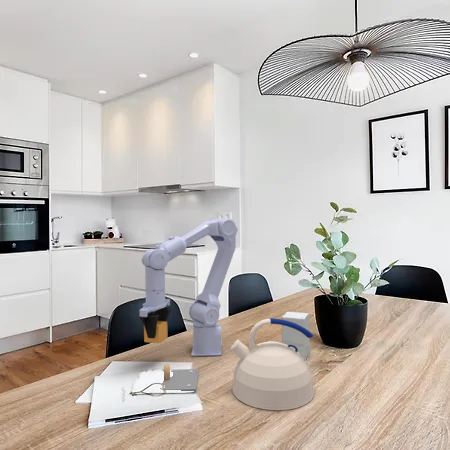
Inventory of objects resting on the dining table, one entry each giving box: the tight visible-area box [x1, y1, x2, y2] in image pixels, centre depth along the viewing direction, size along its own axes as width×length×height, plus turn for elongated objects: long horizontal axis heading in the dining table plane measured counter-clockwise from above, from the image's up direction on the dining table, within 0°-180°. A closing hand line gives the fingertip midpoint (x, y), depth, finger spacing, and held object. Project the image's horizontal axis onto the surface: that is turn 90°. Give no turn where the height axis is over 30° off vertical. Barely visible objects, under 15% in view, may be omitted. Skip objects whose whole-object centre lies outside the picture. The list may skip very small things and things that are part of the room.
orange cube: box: [143, 321, 168, 344], centre depth 108 cm, size 5×5×5 cm
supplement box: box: [280, 311, 311, 361], centre depth 114 cm, size 7×7×13 cm
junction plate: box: [140, 364, 200, 393], centre depth 95 cm, size 16×12×4 cm
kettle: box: [230, 317, 315, 411], centre depth 91 cm, size 20×21×18 cm
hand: (156, 334), depth 108 cm, fingers closed on orange cube, 5 cm apart
